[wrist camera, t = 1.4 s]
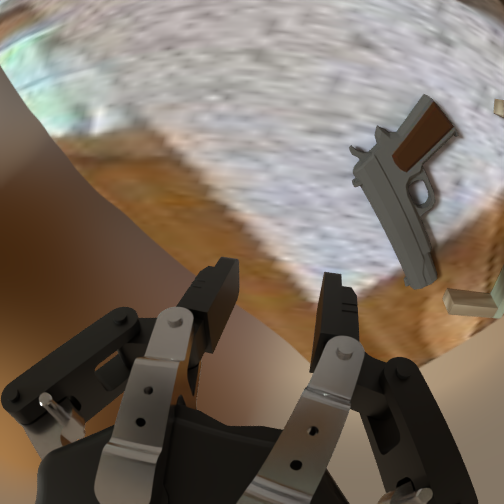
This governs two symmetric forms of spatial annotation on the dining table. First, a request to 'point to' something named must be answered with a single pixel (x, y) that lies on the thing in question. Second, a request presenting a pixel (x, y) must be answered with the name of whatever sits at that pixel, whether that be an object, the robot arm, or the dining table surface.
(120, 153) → the dining table surface
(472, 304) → the bay
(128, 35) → the dining table surface
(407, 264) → the handgun
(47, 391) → the robot arm
